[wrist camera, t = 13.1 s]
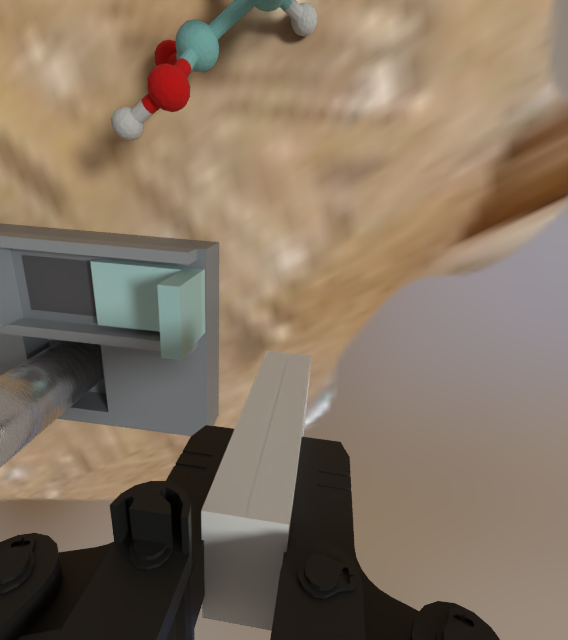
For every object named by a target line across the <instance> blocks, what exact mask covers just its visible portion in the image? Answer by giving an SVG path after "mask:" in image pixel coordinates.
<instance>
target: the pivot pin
mask: <svg viewBox="0 0 568 640" xmlns="http://www.w3.org/2000/svg"><path fill="white" fill-rule="evenodd" d="M103 378H104V369H103V361H102V352H101V345H100V344H91V343H82V342H73V341H64V340H60V341H59V342H57V343H55V344H54V345H52V346H50V347H48V348H47V349H45V350H43V351H42V352H40V353H38V354H37V355H35V356H33V357H31V358H30V359H28V360H26V361H25V362H23V363H21V364H19V365H18V366H16V367H14V368H13V369H11V370H9V371H7V372H6V373H4V374H2V375H1V376H0V467H1V466H2V465H4V464H5V463H6V462H7V461H8V460H9V459H11V458H12V457H13V456H14V455H15V454H16V453H18V452H19V451H20V450H21V449H22V448H23V447H25V446H26V445H27V444H28V443H29V442H30V441H31V440H33V439H34V438H35V437H36V436H37V435H38V434H40V433H41V432H42V431H43V430H44V429H45V428H47V427H48V426H49V425H50V424H51V423H52V422H53V421H55V420H56V419H57V418H58V417H59V416H60V415H62V414H63V413H64V412H65V411H66V410H67V409H69V408H70V407H71V406H72V405H73V404H74V403H75V402H77V401H78V400H79V399H80V398H81V397H82V396H84V395H85V394H86V393H87V392H88V391H89V390H91V389H92V388H93V387H94V386H95V385H96V384H97V383H99V382H100V381H101V380H102V379H103Z"/></svg>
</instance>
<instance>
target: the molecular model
mask: <svg viewBox="0 0 568 640" xmlns="http://www.w3.org/2000/svg"><path fill="white" fill-rule="evenodd" d="M254 6H255V7H256V8H258V9H260V10H262V11H273V10H276V9H277V8H279V7H280V8H281V9H283V11H284V12H285V13H286V14H287V15H288V16H290V17H291V26H292V28H293V30H294V32H295V33H296V34H298V35H300V36H307V35H309V34H311V33H312V32H313V31H314V29H315V27H316V24H317V13H316V11H315V9H314V7H313V6H312V5H310V4H308V3H300V4H299V3H298V2H297V1H296V0H234V1H233V2H232V3H231V4H230V5H229V6H228V7H227V8H226V9H224V10H223V11H222V12H221V13H220V14H219V15H218V16H217V17H216V18H215V19H214V20H213V21H212V22H211V23H210V24H209V25H207V24H206V23H205V22H203V21H200V20H189V21H186V22H185V23H184V24H183V25H182V26H181V27H180V28H179V30H178V32H177V35H176V41H172V40H165V41H162V42H161V43H160V44H159V45H158V46H157V48H156V51H155V63H156V65H157V66H156V67H155V68H153V69H152V70H151V72H150V74H149V77H148V92H149V94H147V95H146V96H145V97H144V98H143V99H142V100H141V101H139V102H138V103H137V104H136V105H135V106H134V107H133V108H132V109H131V108H129V107H120V108H118V109H117V110H115V111H114V113H113V115H112V118H111V122H112V127H113V129H114V131H115V133H116V134H117V135H118V136H119V137H121V138H123V139H125V140H135V139H137V138H139V137H140V135H141V134H142V132H143V122H144V121H145V120H147V119H148V118H149V117H150V116H151V115H152V114H154V113H155V112H156V111H157V110H158V109H159V108H161V109H163V110H166V111H170V112H175V111H178V110H180V109H182V108H183V107H184V106H186V104H187V102H188V100H189V97H190V85H189V82H188V80H187V76H188V75H189V73H191V71H192V70H193V71H195V72H205V71H207V70H209V69H211V68H212V67H213V66H214V65H215V63H216V61H217V59H218V55H219V43H218V39H219V38H220V37H221V36H222V35H223V34H225V33H226V32H227V31H228V30H229V29H230V28H231V27H232V26H233V25H234V24H235V23H237V22H238V21H239V20H240V19H241V18H242V17H243V16H244V15H245V14H246V13H247V12H249V11H250V10H251V9H252V8H253V7H254Z"/></svg>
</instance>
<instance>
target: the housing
mask: <svg viewBox="0 0 568 640" xmlns="http://www.w3.org/2000/svg"><path fill="white" fill-rule="evenodd" d="M96 259H100V260H111V261H122V262H133V263H144V264H155V265H166V266H176V267H187V268H198V269H205V333H204V334H203V336H202V337H201V338H200V339H199V340H198V342H197V343H196V344H195V345H194V346H193V348H192V349H191V350H190V351H189V352H188V354H187V355H186V356H185V357H184V358H183V360H174V359H165V358H161V342H160V332H159V331H150V330H141V329H131V328H122V327H113V326H103V325H98V322H97V314H96V305H95V297H94V288H93V280H92V271H91V263H90V261H93V260H96ZM60 340H64V341H73V342H82V343H91V344H100V345H101V352H102V361H103V369H104V378H103V379H102V380H101V381H100V382H99V383H97V384H96V385H95V386H94V387H93V388H92V389H91V390H89V391H88V392H87V393H86V394H85V395H84V396H82V397H81V398H80V399H79V400H78V401H77V402H75V403H74V404H73V405H72V406H71V407H70V408H69V409H67V410H66V411H65V412H64V413H63V414H62V415H60V416H59V417H58V418H57V419H65V420H73V421H80V422H88V423H95V424H103V425H111V426H118V427H126V428H134V429H141V430H149V431H157V432H164V433H172V434H180V435H187V436H192V435H194V434H195V433H196V432H198V431H199V430H200V429H201V428H203V427H204V426H205V425H209V426H213V425H214V423H215V421H216V419H217V417H218V359H219V242H208V241H197V240H185V239H173V238H162V237H150V236H138V235H127V234H115V233H103V232H92V231H80V230H68V229H57V228H45V227H33V226H22V225H10V224H0V376H1V375H2V374H4V373H6V372H7V371H9V370H11V369H13V368H14V367H16V366H18V365H19V364H21V363H23V362H25V361H26V360H28V359H30V358H31V357H33V356H35V355H37V354H38V353H40V352H42V351H43V350H45V349H47V348H48V347H50V346H52V345H54V344H55V343H57V342H59V341H60Z"/></svg>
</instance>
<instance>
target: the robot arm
mask: <svg viewBox="0 0 568 640" xmlns="http://www.w3.org/2000/svg"><path fill="white" fill-rule="evenodd" d="M311 357H312V356H310V355H301V354H292V353H284V352H275V351H266V354H265V356H264V359H263V361H262V364H261V366H260V368H259V371H258V373H257V376H256V378H255V381H254V383H253V386H252V388H251V390H250V393H249V395H248V398H247V400H246V403H245V405H244V407H243V410H242V412H241V415H240V417H239V420H238V422H237V425H236V427H235V429H231V428H224V427H217V426H209V425H205V426H204V427H203V428H201V429H200V430H199V431H198V432H196V433H195V434H194V435H192V436H191V438H190V439H189V441H188V443H187V445H186V446H185V448H184V450H183V453H182V454H181V455H180V457H179V459H178V460H177V462H176V466H174V467H173V469H172V471H171V473H170V474H169V476H168V478H167V480H166V481H150V482H146V483H142V484H139V485H135V486H134V487H132V488H130V489H128V490H127V491H125V492H123V493H121V494H120V495H119V496H118V497H117V498H116V499H115V500H114V501H113V502H112V503H111V505H110V511H111V519H112V526H113V535H114V542H112V543H110V544H107V545H103V546H99V547H95V548H88V549H80V550H74V551H67V552H59V553H58V547H57V544H56V543H55V542H54V541H53V540H52V539H51V538H50V537H49V536H47V535H42V534H37V533H31V534H24V535H17V536H15V537H12V538H10V539H7V540H5V541H2V542H0V640H194V628H195V624H196V621H197V618H198V615H199V612H200V609H201V605H202V604H203V618H208V619H213V620H219V621H224V622H229V623H235V624H240V625H246V626H251V627H256V628H262V629H267V630H272V632H271V639H270V640H500V639H499V638H498V636H497V635H496V634H495V632H494V631H493V630H492V628H491V627H490V626H489V625H488V624H486V623H485V622H484V621H483V620H482V619H481V618H479V617H478V616H477V615H476V614H475V613H474V612H472V611H470V610H467V609H466V608H464V607H462V606H459V605H457V604H455V603H449V602H441V601H437V602H434V603H431V604H428V605H425V606H424V607H423V608H422V609H421V610H420V611H417V610H416V609H413V608H412V607H410V606H408V605H406V604H404V603H402V602H400V601H398V600H396V599H394V598H392V597H390V596H389V595H387V594H386V593H384V592H383V591H381V590H380V589H378V588H377V587H376V586H375V585H374V584H373V583H372V582H371V581H370V580H369V579H368V578H367V576H366V575H365V573H364V572H363V571H362V569H361V567H360V565H359V563H358V561H357V558H356V553H355V548H354V531H353V512H352V495H351V477H350V458H349V456H348V454H347V452H346V450H345V449H344V447H343V445H342V444H341V442H337V441H329V440H322V439H314V438H307V437H303V434H304V426H305V416H306V406H307V397H308V387H309V377H310V367H311Z"/></svg>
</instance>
